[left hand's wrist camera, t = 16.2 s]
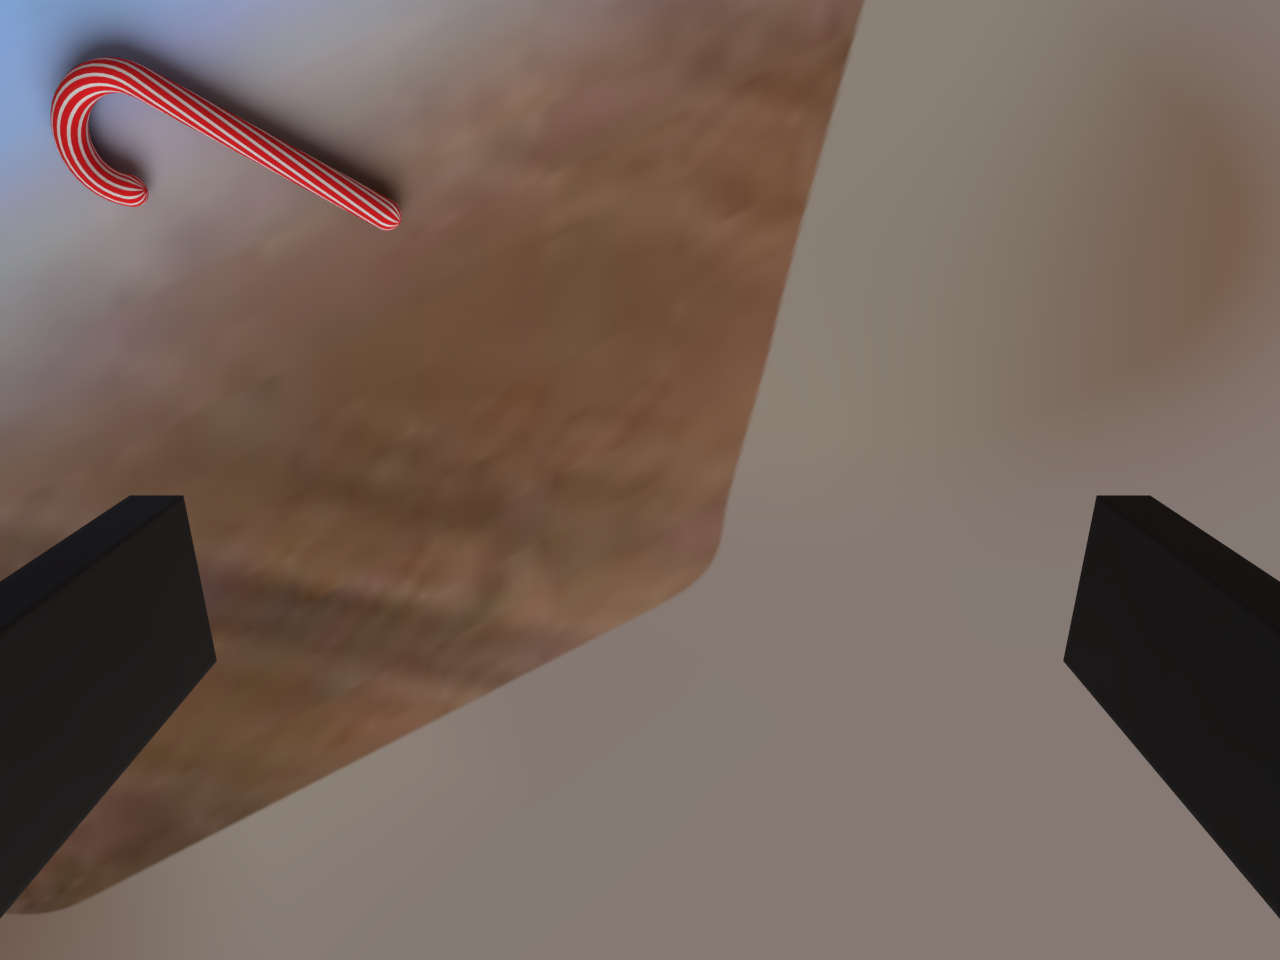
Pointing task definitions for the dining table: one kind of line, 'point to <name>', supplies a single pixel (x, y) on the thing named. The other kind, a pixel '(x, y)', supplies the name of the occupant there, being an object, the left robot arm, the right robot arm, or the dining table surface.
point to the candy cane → (201, 115)
